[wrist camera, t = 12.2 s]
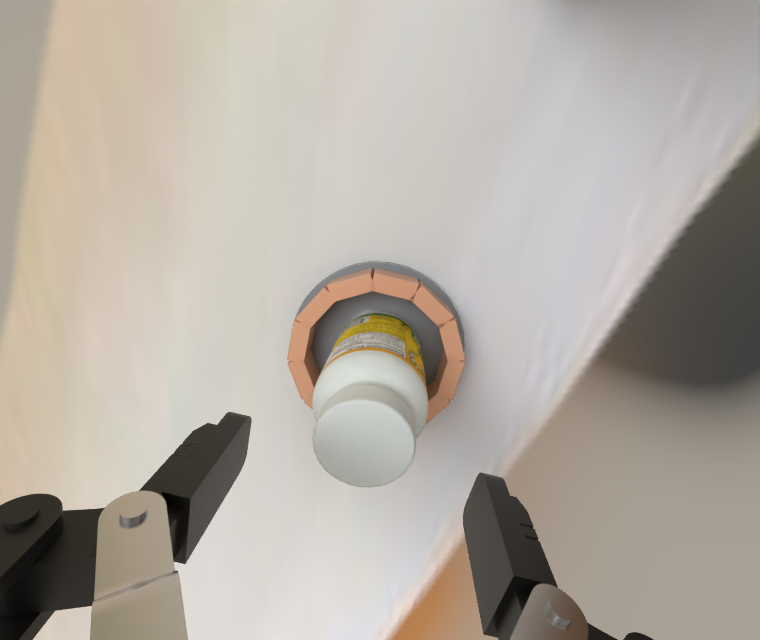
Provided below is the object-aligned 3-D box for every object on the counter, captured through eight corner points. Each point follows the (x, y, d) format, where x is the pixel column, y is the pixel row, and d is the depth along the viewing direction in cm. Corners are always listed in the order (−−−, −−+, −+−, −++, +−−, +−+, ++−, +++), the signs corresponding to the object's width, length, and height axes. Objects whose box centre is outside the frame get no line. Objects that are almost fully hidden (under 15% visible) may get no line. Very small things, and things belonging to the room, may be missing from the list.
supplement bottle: (345, 301, 22) (304, 367, 13) (430, 319, 22) (450, 398, 13) (331, 378, 24) (286, 486, 14) (410, 395, 24) (416, 513, 14)
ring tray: (310, 242, 22) (299, 246, 19) (485, 285, 22) (495, 295, 20) (283, 397, 25) (270, 418, 23) (435, 433, 25) (439, 458, 23)
